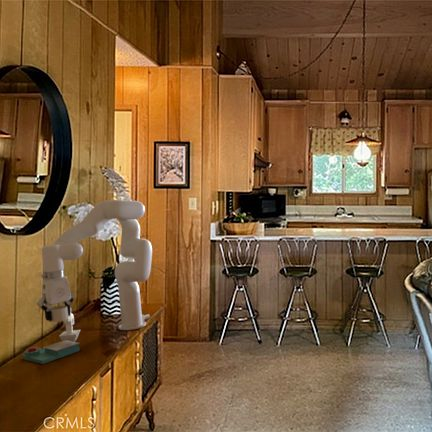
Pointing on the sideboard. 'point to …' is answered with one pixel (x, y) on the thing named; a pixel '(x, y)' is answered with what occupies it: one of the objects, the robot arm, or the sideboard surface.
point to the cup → (59, 313)
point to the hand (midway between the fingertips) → (58, 317)
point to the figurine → (69, 330)
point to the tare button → (32, 349)
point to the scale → (39, 356)
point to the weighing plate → (62, 348)
